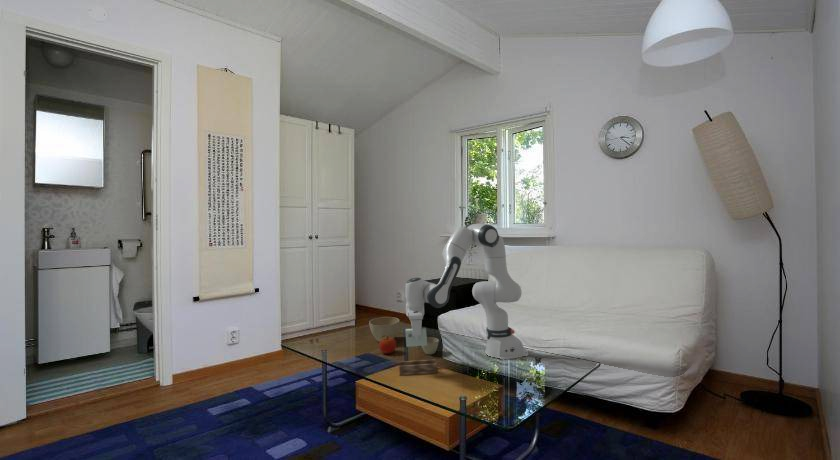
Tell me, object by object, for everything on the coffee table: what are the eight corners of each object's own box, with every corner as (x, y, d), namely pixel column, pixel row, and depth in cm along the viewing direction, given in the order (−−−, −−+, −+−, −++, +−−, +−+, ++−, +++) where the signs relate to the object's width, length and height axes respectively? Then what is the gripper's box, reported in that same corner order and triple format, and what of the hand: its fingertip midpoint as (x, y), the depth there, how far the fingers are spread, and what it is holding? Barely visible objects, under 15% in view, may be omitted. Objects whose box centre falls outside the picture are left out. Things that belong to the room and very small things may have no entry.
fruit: (399, 353, 243) (398, 335, 242) (382, 356, 240) (381, 338, 239) (393, 348, 252) (392, 331, 251) (377, 351, 249) (376, 333, 248)
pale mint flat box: (426, 343, 219) (425, 327, 218) (427, 345, 216) (426, 329, 215) (406, 344, 218) (405, 328, 218) (406, 346, 215) (405, 330, 214)
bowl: (437, 356, 236) (437, 343, 236) (419, 356, 238) (418, 343, 238) (440, 350, 246) (440, 337, 246) (422, 349, 248) (422, 337, 248)
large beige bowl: (366, 339, 271) (365, 319, 270) (393, 334, 279) (392, 315, 278) (376, 347, 255) (374, 327, 254) (404, 342, 262) (403, 322, 261)
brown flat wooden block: (435, 366, 222) (434, 358, 222) (436, 372, 214) (436, 364, 214) (399, 368, 221) (399, 360, 221) (399, 375, 213) (399, 367, 213)
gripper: (408, 306, 226) (409, 333, 227) (409, 317, 205) (410, 346, 206) (420, 306, 226) (421, 332, 227) (423, 316, 206) (424, 345, 207)
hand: (416, 339), depth 217 cm, fingers closed on pale mint flat box, 3 cm apart
